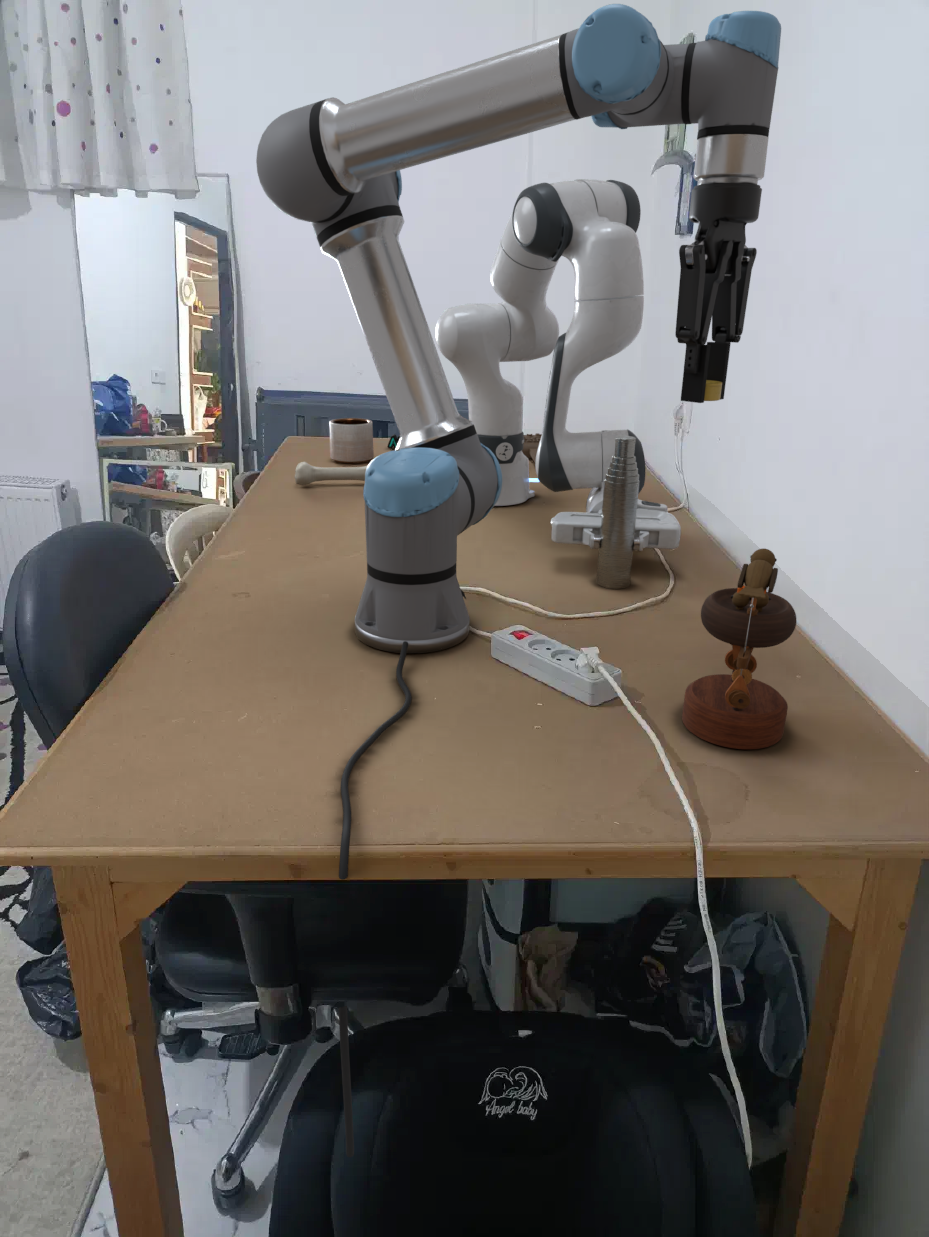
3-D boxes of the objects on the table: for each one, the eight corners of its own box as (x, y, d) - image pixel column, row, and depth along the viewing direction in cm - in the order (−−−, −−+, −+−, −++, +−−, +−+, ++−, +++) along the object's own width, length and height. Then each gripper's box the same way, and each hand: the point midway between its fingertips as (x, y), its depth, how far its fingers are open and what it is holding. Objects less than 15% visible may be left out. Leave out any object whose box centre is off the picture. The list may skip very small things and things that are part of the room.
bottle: (623, 591, 129) (637, 442, 120) (591, 585, 131) (603, 438, 122) (633, 581, 133) (647, 436, 124) (602, 575, 135) (614, 433, 127)
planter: (327, 456, 217) (325, 418, 214) (369, 454, 220) (368, 417, 217) (334, 465, 208) (332, 425, 204) (377, 463, 211) (376, 424, 207)
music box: (804, 761, 84) (822, 570, 76) (690, 761, 85) (697, 574, 78) (770, 691, 98) (782, 524, 90) (673, 692, 99) (677, 527, 92)
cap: (727, 400, 101) (729, 383, 100) (698, 401, 100) (700, 384, 99) (707, 396, 105) (709, 379, 104) (679, 397, 103) (681, 380, 103)
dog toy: (385, 480, 194) (384, 458, 192) (387, 486, 188) (386, 464, 186) (295, 482, 191) (294, 460, 189) (294, 488, 185) (293, 465, 183)
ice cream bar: (497, 468, 207) (497, 451, 206) (489, 446, 233) (489, 431, 231) (582, 468, 208) (583, 451, 207) (564, 447, 234) (565, 431, 232)
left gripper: (734, 191, 102) (710, 391, 110) (655, 179, 90) (636, 403, 99) (794, 187, 97) (764, 396, 106) (719, 174, 85) (692, 410, 94)
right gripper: (551, 499, 141) (549, 521, 129) (676, 505, 139) (686, 528, 126) (549, 535, 144) (547, 561, 131) (672, 541, 142) (681, 568, 129)
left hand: (702, 399), depth 102 cm, fingers closed on cap, 4 cm apart
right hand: (617, 544), depth 129 cm, fingers closed on bottle, 5 cm apart
